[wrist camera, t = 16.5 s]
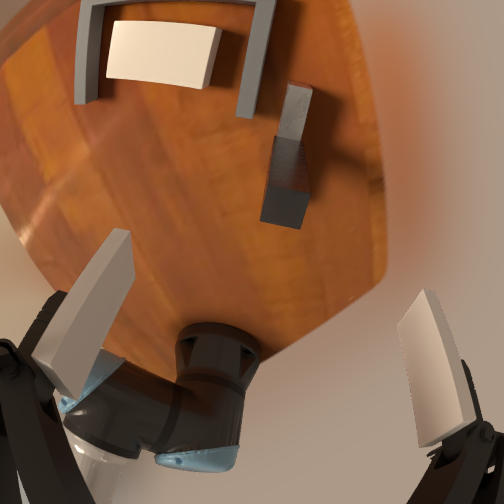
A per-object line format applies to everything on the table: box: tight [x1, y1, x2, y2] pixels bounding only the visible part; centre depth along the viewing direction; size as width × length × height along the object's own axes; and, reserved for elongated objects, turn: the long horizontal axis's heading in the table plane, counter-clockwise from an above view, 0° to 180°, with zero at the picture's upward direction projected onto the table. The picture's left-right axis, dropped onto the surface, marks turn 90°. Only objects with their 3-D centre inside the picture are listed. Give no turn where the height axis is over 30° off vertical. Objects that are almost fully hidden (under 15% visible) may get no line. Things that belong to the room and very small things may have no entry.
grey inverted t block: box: [260, 80, 313, 230], centre depth 23 cm, size 12×2×14 cm, turn 171°
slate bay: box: [75, 0, 277, 119], centre depth 22 cm, size 12×19×2 cm, turn 80°
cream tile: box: [106, 21, 223, 89], centre depth 22 cm, size 6×10×3 cm, turn 76°
